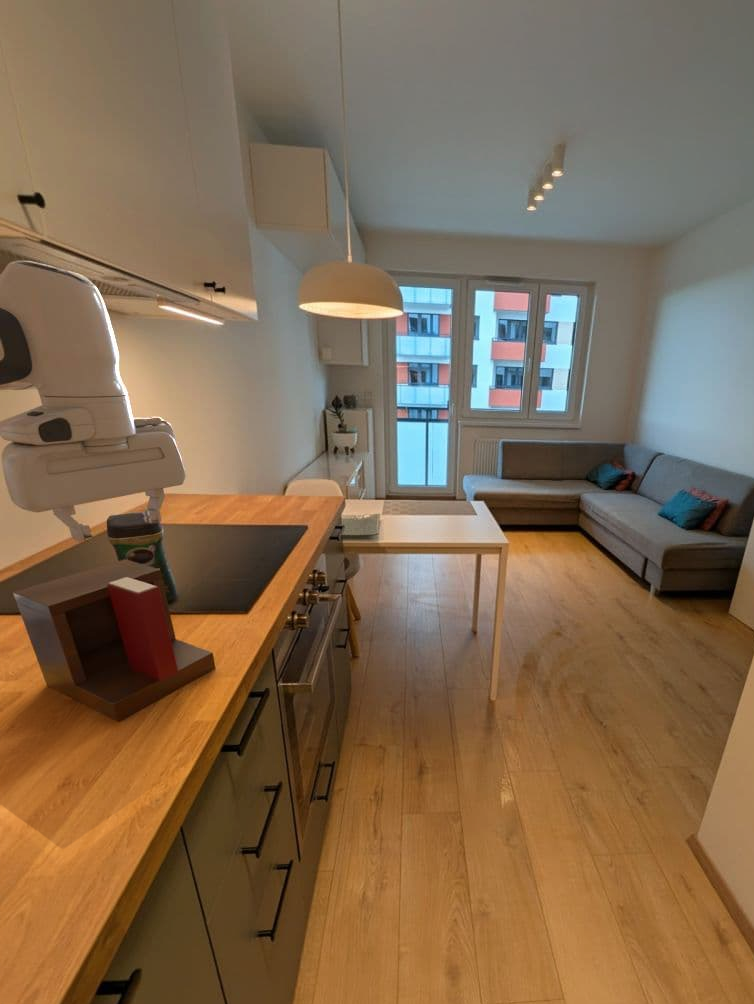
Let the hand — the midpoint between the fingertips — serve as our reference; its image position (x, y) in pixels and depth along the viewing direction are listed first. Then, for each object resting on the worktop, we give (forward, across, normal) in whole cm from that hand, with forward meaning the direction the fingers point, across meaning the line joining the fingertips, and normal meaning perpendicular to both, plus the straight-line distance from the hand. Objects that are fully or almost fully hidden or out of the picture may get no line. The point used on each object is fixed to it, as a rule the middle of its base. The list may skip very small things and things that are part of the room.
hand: (120, 530), depth 68 cm
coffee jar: (+25, -19, -30) cm, 44 cm away
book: (+22, 0, 0) cm, 22 cm away
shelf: (+25, 0, -6) cm, 26 cm away
